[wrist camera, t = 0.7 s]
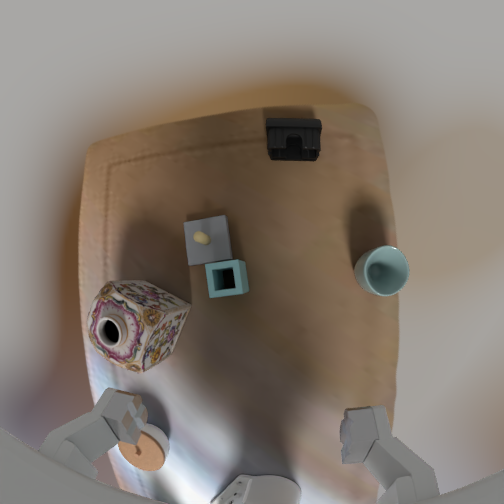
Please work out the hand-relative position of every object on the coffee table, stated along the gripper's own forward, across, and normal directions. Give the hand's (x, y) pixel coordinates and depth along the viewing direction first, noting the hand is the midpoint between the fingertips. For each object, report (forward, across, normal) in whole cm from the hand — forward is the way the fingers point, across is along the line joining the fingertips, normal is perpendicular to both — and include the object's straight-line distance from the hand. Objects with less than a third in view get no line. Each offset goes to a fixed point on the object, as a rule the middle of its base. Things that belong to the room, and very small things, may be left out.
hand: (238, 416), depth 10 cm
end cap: (+53, +3, +8) cm, 53 cm away
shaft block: (+44, -13, -8) cm, 46 cm away
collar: (+41, -8, -15) cm, 44 cm away
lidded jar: (+25, -26, -47) cm, 60 cm away
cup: (+42, +17, -14) cm, 47 cm away
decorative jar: (+37, -24, -22) cm, 49 cm away
